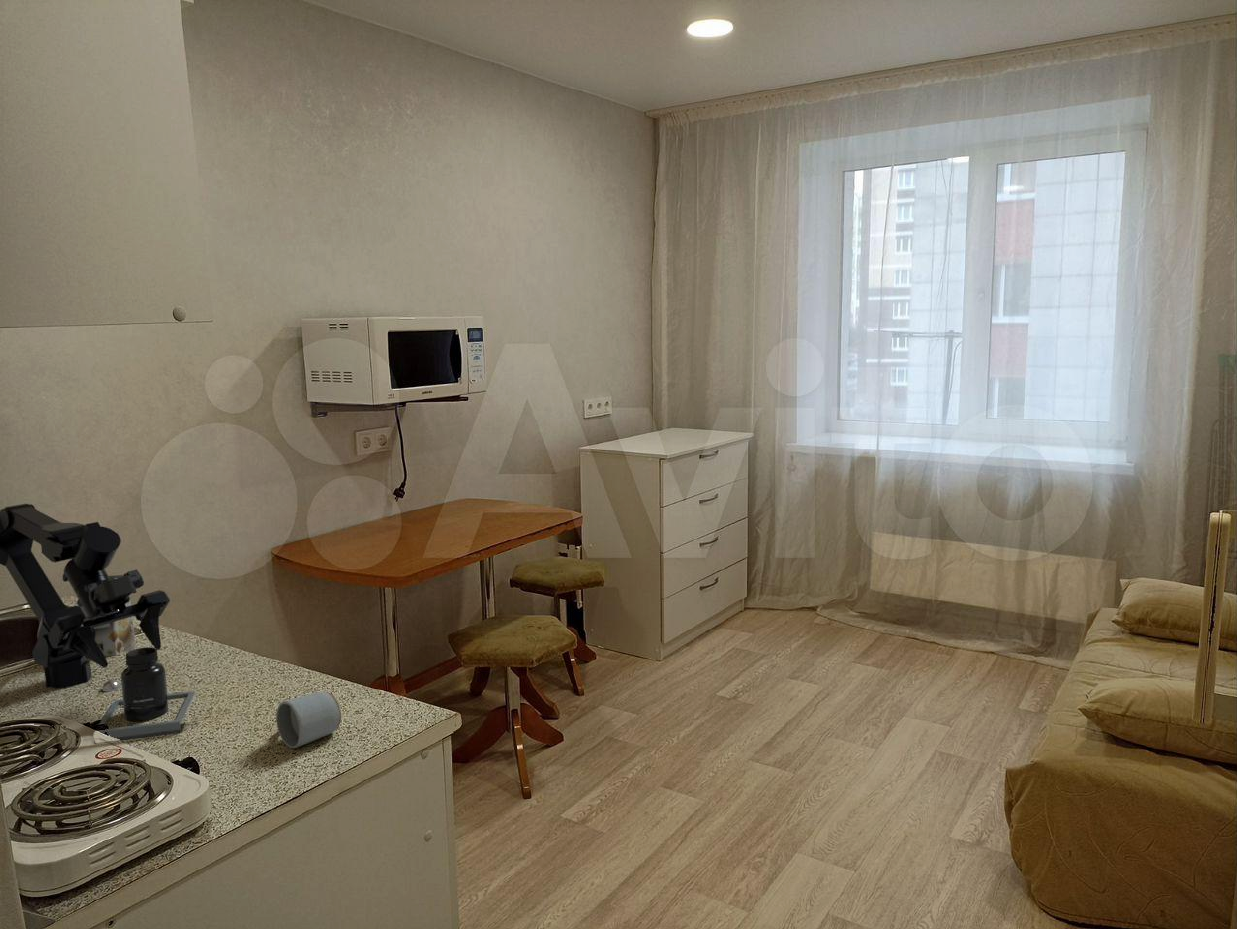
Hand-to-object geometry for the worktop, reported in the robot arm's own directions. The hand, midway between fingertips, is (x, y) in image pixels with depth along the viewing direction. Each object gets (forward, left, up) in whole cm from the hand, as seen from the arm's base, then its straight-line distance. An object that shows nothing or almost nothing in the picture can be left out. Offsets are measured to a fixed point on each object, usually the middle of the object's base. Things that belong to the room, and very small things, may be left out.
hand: (133, 657), depth 152 cm
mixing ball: (-8, +12, -10) cm, 18 cm away
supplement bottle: (+1, -1, -11) cm, 11 cm away
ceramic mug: (+28, -16, -12) cm, 35 cm away
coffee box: (-14, +35, -12) cm, 40 cm away
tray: (+1, -2, -11) cm, 12 cm away
